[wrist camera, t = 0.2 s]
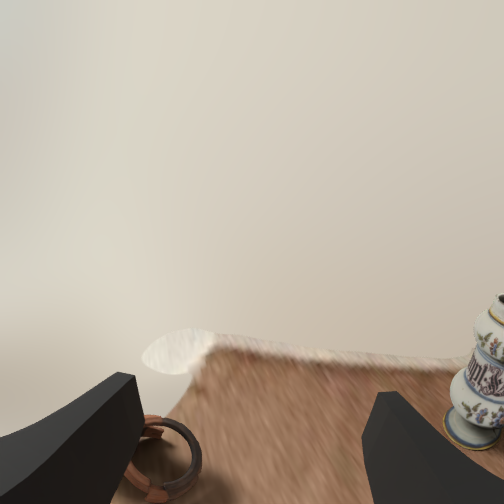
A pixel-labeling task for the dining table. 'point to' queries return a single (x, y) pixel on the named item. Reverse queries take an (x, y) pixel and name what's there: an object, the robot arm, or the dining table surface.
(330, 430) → the dining table surface
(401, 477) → the robot arm
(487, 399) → the apothecary jar
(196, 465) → the pottery mug
